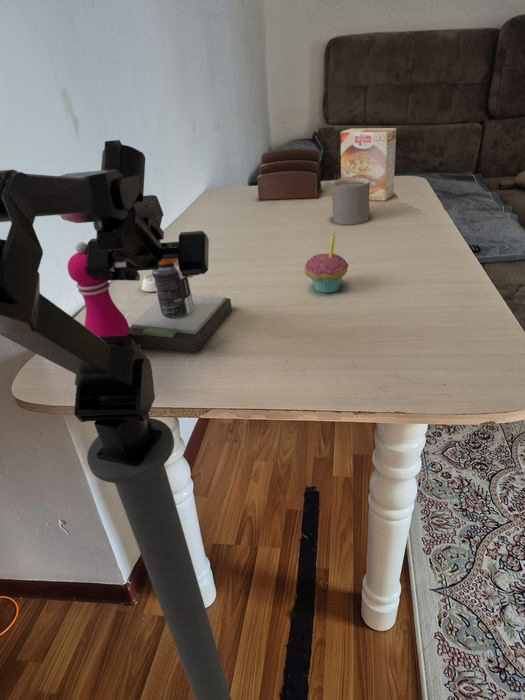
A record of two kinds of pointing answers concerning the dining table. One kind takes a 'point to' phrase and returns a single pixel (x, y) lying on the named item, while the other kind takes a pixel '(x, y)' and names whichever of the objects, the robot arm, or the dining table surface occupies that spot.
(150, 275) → the white jar
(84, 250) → the pepper mill
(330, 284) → the cupcake
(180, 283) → the pill bottle
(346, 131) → the coffeecake box
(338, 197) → the coffee mug
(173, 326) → the scale
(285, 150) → the letter holder
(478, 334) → the dining table surface
